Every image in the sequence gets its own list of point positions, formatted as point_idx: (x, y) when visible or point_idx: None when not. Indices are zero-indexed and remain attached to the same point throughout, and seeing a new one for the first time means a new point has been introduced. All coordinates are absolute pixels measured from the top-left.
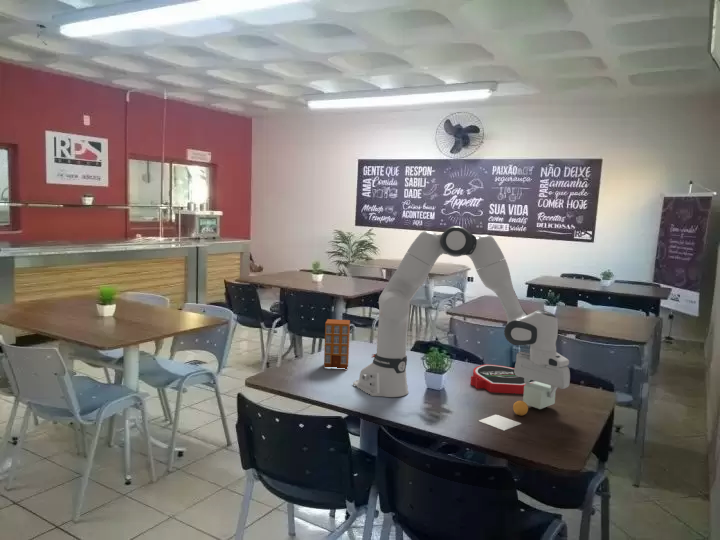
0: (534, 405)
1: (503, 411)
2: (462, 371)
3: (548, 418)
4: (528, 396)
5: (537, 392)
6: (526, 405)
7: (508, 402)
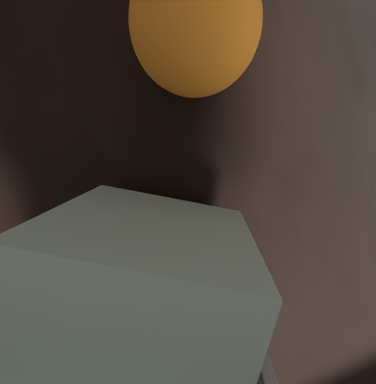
0: (144, 197)
1: (320, 30)
2: None
3: (41, 135)
4: (197, 226)
5: (72, 236)
6: (132, 8)
7: (346, 239)
